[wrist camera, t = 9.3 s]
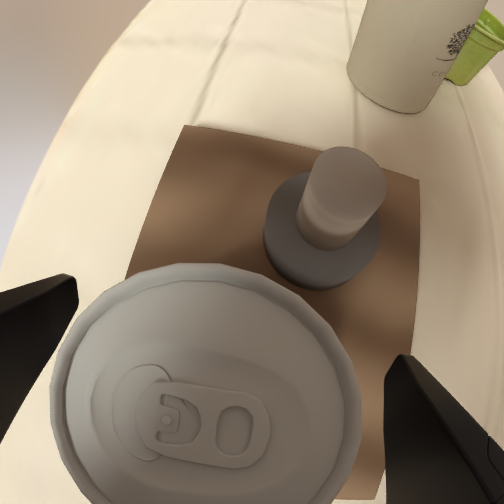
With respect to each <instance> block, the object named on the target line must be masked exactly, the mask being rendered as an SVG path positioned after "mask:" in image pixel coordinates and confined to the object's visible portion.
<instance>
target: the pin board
mask: <svg viewBox="0 0 504 504" xmlns="http://www.w3.org/2000/svg"><path fill="white" fill-rule="evenodd" d="M419 247H420V197H419V180H417V179H414V178H411V177H408V176H405V175H402V174H399V173H396V172H393V171H389V170H386V169H383V168H380V167H379V166H378V164H377V163H376V162H375V161H374V160H373V159H372V158H371V157H369V156H368V155H366V154H365V153H363V152H361V151H359V150H356V149H353V148H349V147H334V148H330V149H328V150H326V151H324V152H322V151H318V150H314V149H310V148H305V147H301V146H297V145H292V144H288V143H283V142H279V141H274V140H269V139H264V138H260V137H254V136H249V135H244V134H239V133H233V132H227V131H221V130H215V129H209V128H203V127H196V126H189V125H184V127H183V129H182V131H181V133H180V135H179V138H178V140H177V142H176V144H175V147H174V149H173V151H172V154H171V156H170V158H169V161H168V163H167V165H166V168H165V170H164V172H163V175H162V177H161V180H160V182H159V185H158V187H157V190H156V192H155V195H154V197H153V200H152V203H151V205H150V208H149V210H148V213H147V216H146V218H145V221H144V224H143V227H142V229H141V232H140V235H139V238H138V241H137V244H136V246H135V249H134V252H133V255H132V258H131V261H130V264H129V267H128V270H127V274H126V277H125V280H126V279H128V278H129V277H131V276H133V275H135V274H137V273H139V272H143V271H147V270H151V269H155V268H159V267H163V266H167V265H172V264H176V263H220V264H224V265H228V266H231V267H235V268H239V269H242V270H246V271H250V272H253V273H257V274H261V275H263V276H265V277H267V278H268V279H270V280H272V281H274V282H276V283H277V284H279V285H281V286H283V287H285V288H286V289H288V290H290V291H292V292H294V293H295V294H297V295H299V296H300V297H301V298H302V299H303V300H304V301H305V302H306V303H307V304H309V305H310V306H311V307H312V308H313V309H314V310H315V311H316V312H317V313H318V314H319V315H320V316H321V317H322V318H323V319H324V320H325V321H326V322H327V323H328V324H329V325H330V326H331V327H332V329H333V331H334V332H335V334H336V336H337V337H338V339H339V341H340V342H341V344H342V346H343V347H344V349H345V350H346V352H347V354H348V355H349V357H350V359H351V360H352V363H353V367H354V371H355V374H356V378H357V382H358V385H359V389H360V393H361V397H362V440H361V443H360V446H359V450H358V453H357V456H356V459H355V462H354V465H353V468H352V471H351V474H350V476H349V478H348V480H347V481H346V483H345V484H344V486H343V487H342V489H341V490H340V491H339V493H338V494H337V496H336V497H335V499H343V500H374V499H375V497H376V494H377V491H378V488H379V485H380V482H381V479H382V475H383V472H384V469H385V450H384V435H383V410H384V378H385V375H386V373H387V371H388V370H389V368H390V367H391V365H392V363H393V362H394V360H395V358H396V357H397V356H398V355H399V354H407V355H410V351H411V344H412V337H413V329H414V320H415V311H416V300H417V287H418V272H419Z"/></svg>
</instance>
